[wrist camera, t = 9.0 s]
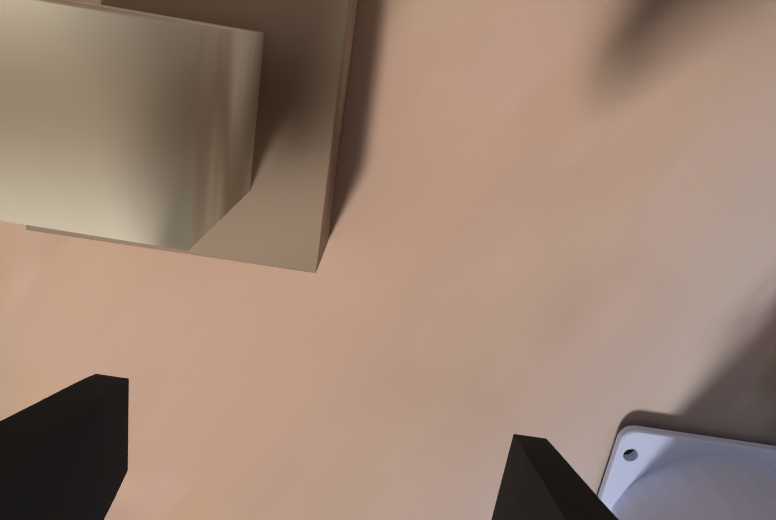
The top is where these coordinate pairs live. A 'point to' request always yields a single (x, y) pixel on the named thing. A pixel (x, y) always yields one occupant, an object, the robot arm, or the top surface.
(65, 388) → the robot arm
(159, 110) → the maple block
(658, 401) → the top surface
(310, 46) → the tan square slab
